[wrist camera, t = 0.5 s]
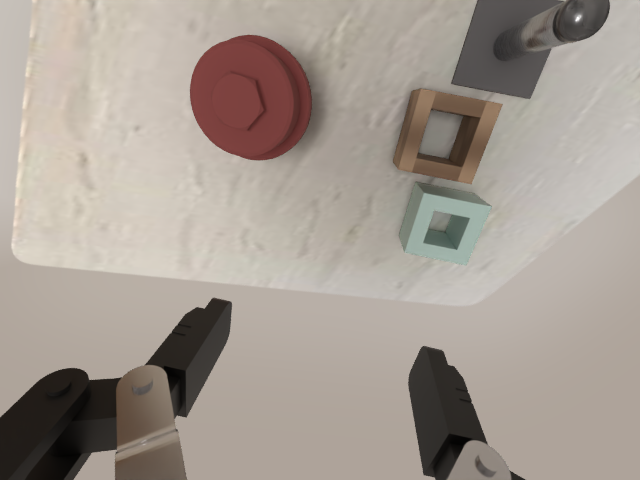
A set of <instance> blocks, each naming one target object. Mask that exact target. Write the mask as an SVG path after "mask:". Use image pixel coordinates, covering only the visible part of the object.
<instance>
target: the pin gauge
mask: <svg viewBox="0 0 640 480" xmlns="http://www.w3.org/2000/svg"><path fill="white" fill-rule="evenodd" d="M609 9H610V3H609V0H566V1H564V2H562V3H560V4H558V5H556V6H554V7H552V8H550V9H548V10H546V11H544V12H542V13H540V14H538V15H536V16H534V17H532V18H530V19H528V20H526V21H524V22H522V23H520V24H518V25H516V26H514V27H512V28H510V29H508V30H506V31H504V32H503V33H501V34H500V35H499V36H498V37H497V39H496V41H495V43H494V47H493V51H494V55H495V57H496V58H497V59H499V60H501V61H508V60H512V59H515V58H519V57H522V56H526V55H529V54H532V53H536V52H539V51H543V50H546V49H549V48H553V47H556V46H560V45H563V44H567V43H573V42H576V41H580V40H583V39H586V38H589V37H590V36H592V35H594V34H595V33H596V32H597V31H598V30H599V29H600V28H601V27H602V26H603V24H604V23H605V21H606V19H607V17H608V14H609Z"/></svg>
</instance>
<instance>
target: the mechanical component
mask: <svg viewBox="0 0 640 480" xmlns="http://www.w3.org/2000/svg"><path fill="white" fill-rule="evenodd" d="M190 98H191V105H192V110H193V113H194V116H195V118H196V121H197V123H198V124H199V126H200V128H201V129H202V131H203V132H204V134H205V135H206V136H207V137H208V138H209V140H210V141H212V142H213V143H214V144H215V145H216V146H218V147H219V148H221V149H222V150H224V151H226V152H228V153H231V154H234V155H238V156H240V157H243V158H246V159H250V160H268V159H273V158H275V157H278V156H280V155H282V154H284V153H286V152H287V151H288V150H290V149H291V148H292V147H293V146H295V145H296V144H297V143H298V141H299V140H300V139H301V138H302V136H303V134H304V133H305V131H306V128H307V126H308V124H309V120H310V116H311V109H312V97H311V90H310V86H309V82H308V79H307V77H306V74H305V72H304V70H303V69H302V67H301V65H300V64H299V62H298V61H297V60H296V58H295V57H294V56H293V55H292V54H291V53H290V52H289V51H287V50H286V49H285V48H284V47H282V46H281V45H279V44H278V43H276V42H274V41H272V40H270V39H268V38H265V37H261V36H256V35H244V36H238V37H235V38H232V39H230V40H227V41H224V42H221V43H218V44H216V45H215V46H213V47H211V48H210V49H209V50H208V51H206V52H205V53H204V55H203V56H202V57H201V58H200V60H199V61H198V63H197V65H196V67H195V69H194V72H193V74H192V79H191V85H190Z"/></svg>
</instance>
